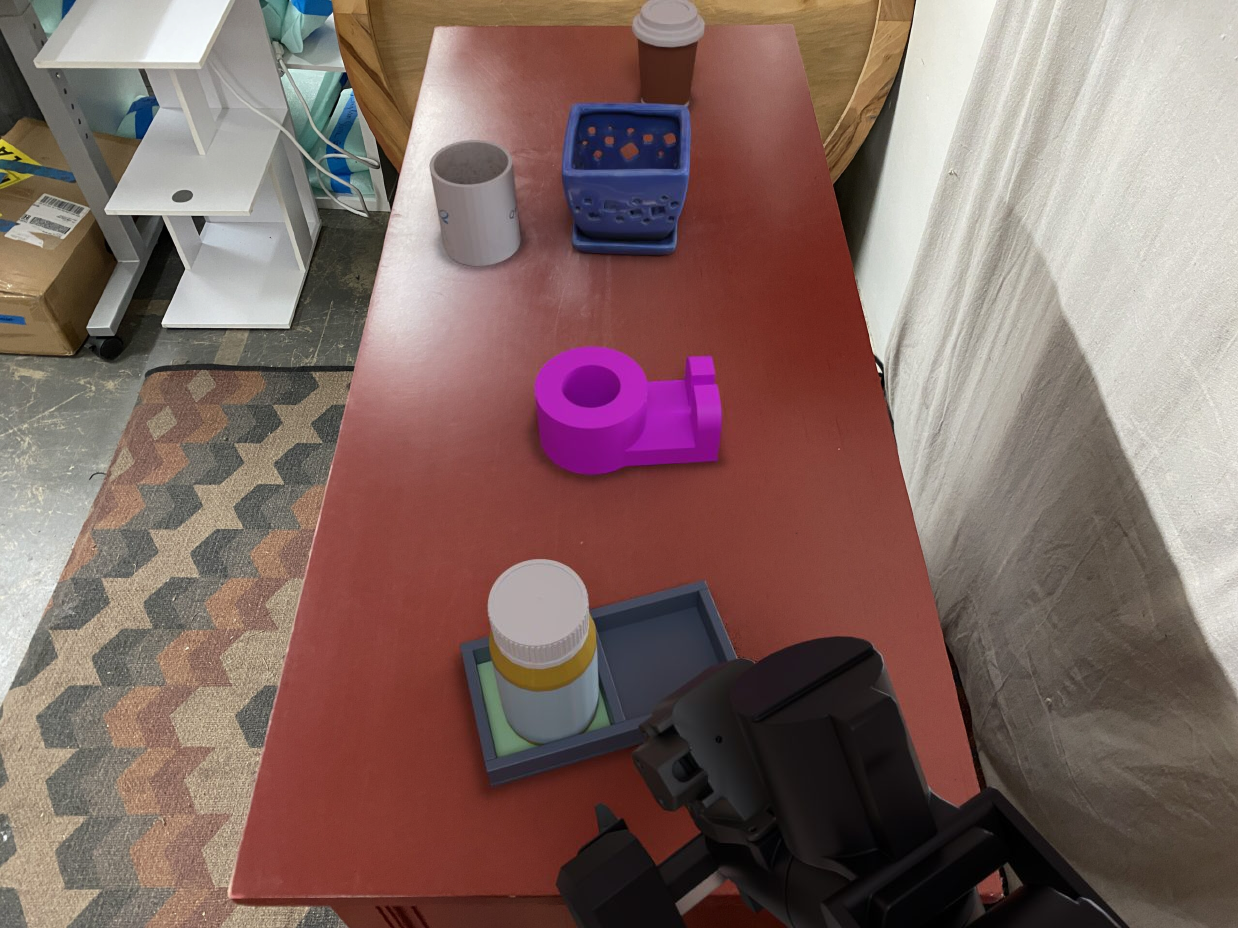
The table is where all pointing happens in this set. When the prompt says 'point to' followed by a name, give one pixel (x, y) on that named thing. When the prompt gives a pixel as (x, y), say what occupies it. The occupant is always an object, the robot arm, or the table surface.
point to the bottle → (544, 651)
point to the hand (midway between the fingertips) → (667, 762)
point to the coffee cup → (667, 49)
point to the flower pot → (626, 176)
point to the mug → (476, 201)
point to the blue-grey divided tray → (608, 679)
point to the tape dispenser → (624, 412)
